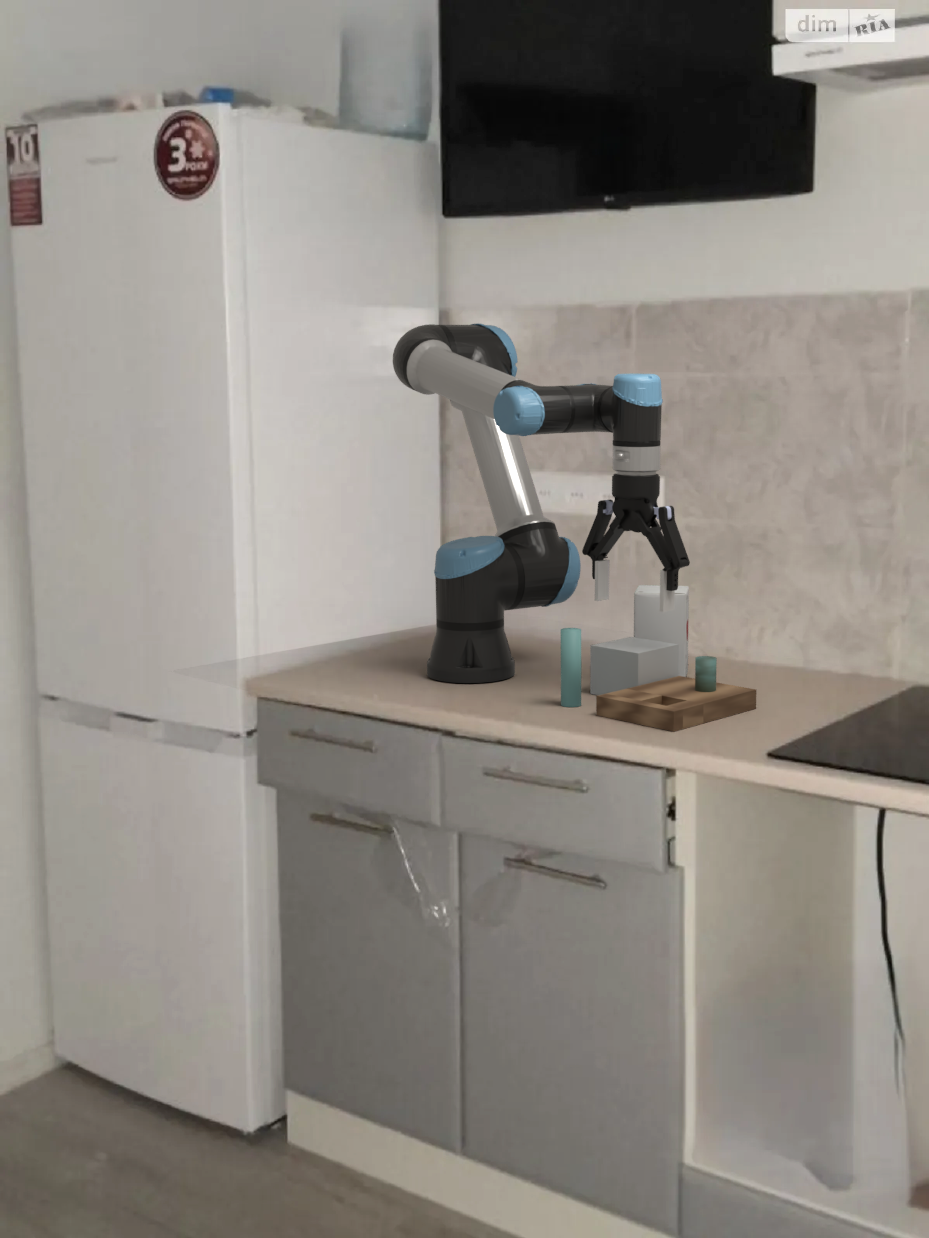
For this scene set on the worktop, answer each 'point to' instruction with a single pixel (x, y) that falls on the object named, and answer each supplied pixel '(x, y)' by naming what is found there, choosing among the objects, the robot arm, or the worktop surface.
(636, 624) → the supplement box
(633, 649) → the grey square block
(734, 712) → the board
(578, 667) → the peg
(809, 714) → the worktop surface
